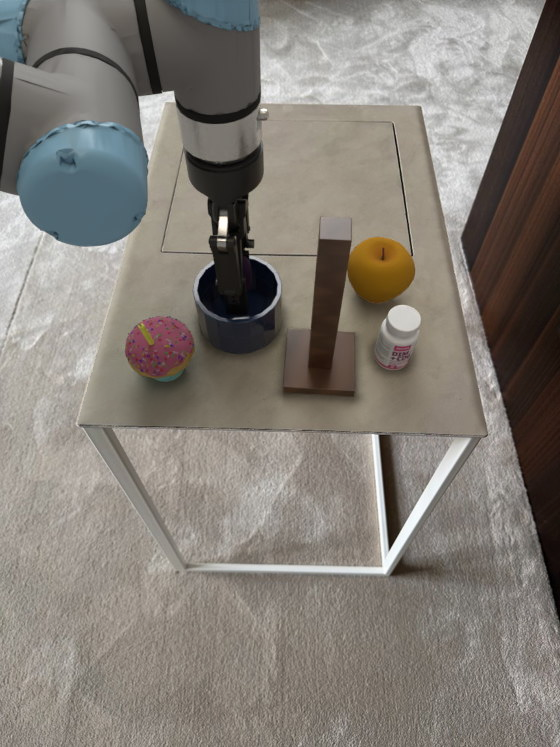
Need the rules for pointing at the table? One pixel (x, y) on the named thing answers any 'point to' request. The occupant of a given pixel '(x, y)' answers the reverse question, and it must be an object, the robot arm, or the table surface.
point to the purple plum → (247, 272)
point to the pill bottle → (397, 337)
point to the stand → (324, 323)
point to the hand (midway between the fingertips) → (239, 299)
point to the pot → (240, 329)
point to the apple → (380, 269)
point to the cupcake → (160, 348)
